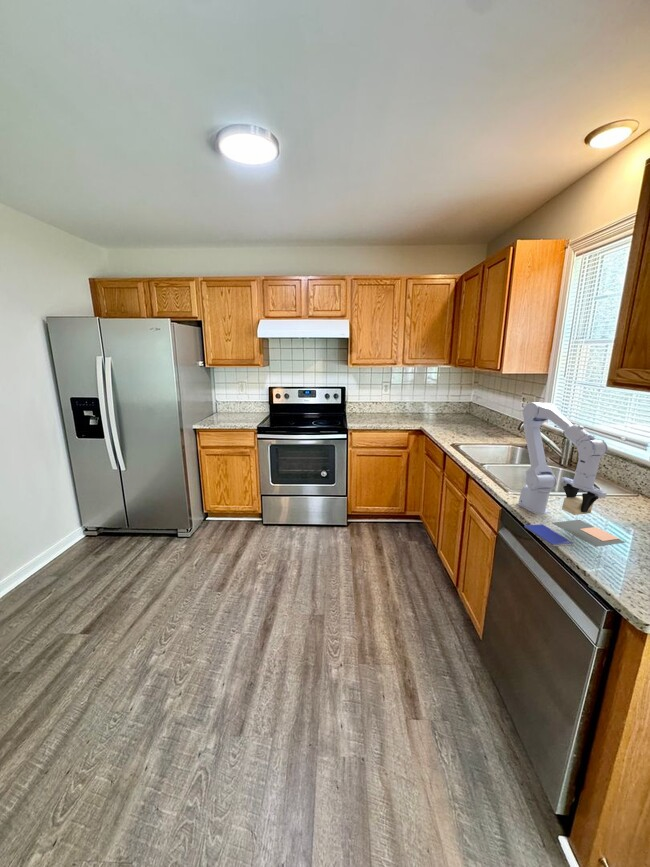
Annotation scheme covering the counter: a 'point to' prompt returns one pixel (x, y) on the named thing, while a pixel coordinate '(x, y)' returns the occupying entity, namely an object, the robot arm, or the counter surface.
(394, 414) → the counter surface
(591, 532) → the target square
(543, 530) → the hard drive
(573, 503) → the maple block
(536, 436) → the robot arm
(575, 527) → the rubber mat
